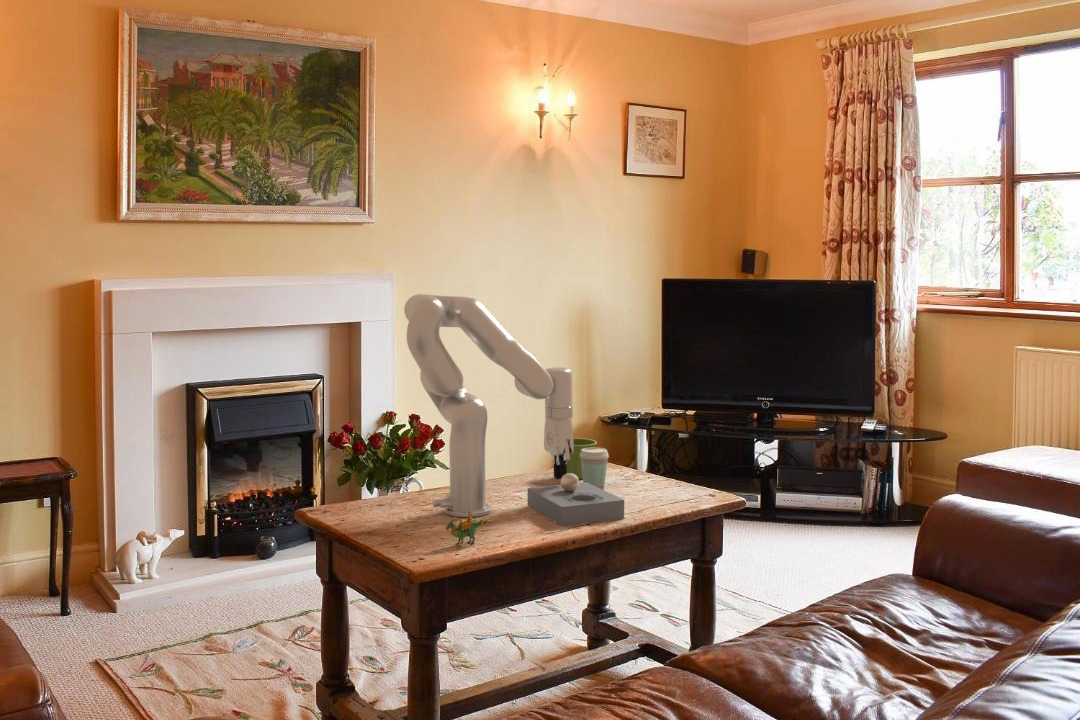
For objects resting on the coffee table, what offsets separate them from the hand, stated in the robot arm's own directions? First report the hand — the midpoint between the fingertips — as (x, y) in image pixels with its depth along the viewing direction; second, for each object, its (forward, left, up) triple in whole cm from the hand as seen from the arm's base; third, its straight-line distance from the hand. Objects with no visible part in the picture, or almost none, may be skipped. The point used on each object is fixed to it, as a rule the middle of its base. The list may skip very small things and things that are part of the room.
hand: (560, 477), depth 279 cm
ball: (-1, -7, 0) cm, 8 cm away
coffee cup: (+15, +10, -7) cm, 20 cm away
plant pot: (+18, +27, -7) cm, 33 cm away
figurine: (-36, -26, -7) cm, 46 cm away
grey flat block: (-1, -10, -7) cm, 13 cm away
